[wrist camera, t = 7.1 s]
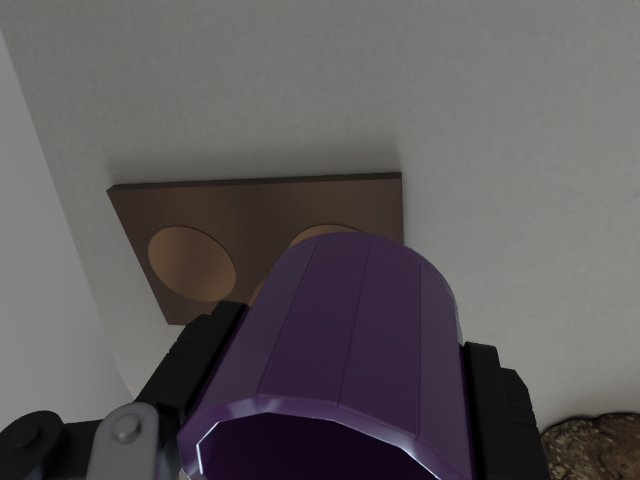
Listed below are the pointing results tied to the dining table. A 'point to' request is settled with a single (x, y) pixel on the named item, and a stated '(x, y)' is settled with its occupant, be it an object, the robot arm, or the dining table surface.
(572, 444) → the bread roll
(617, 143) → the dining table surface
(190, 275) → the serving board
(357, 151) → the dining table surface
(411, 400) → the ramekin
